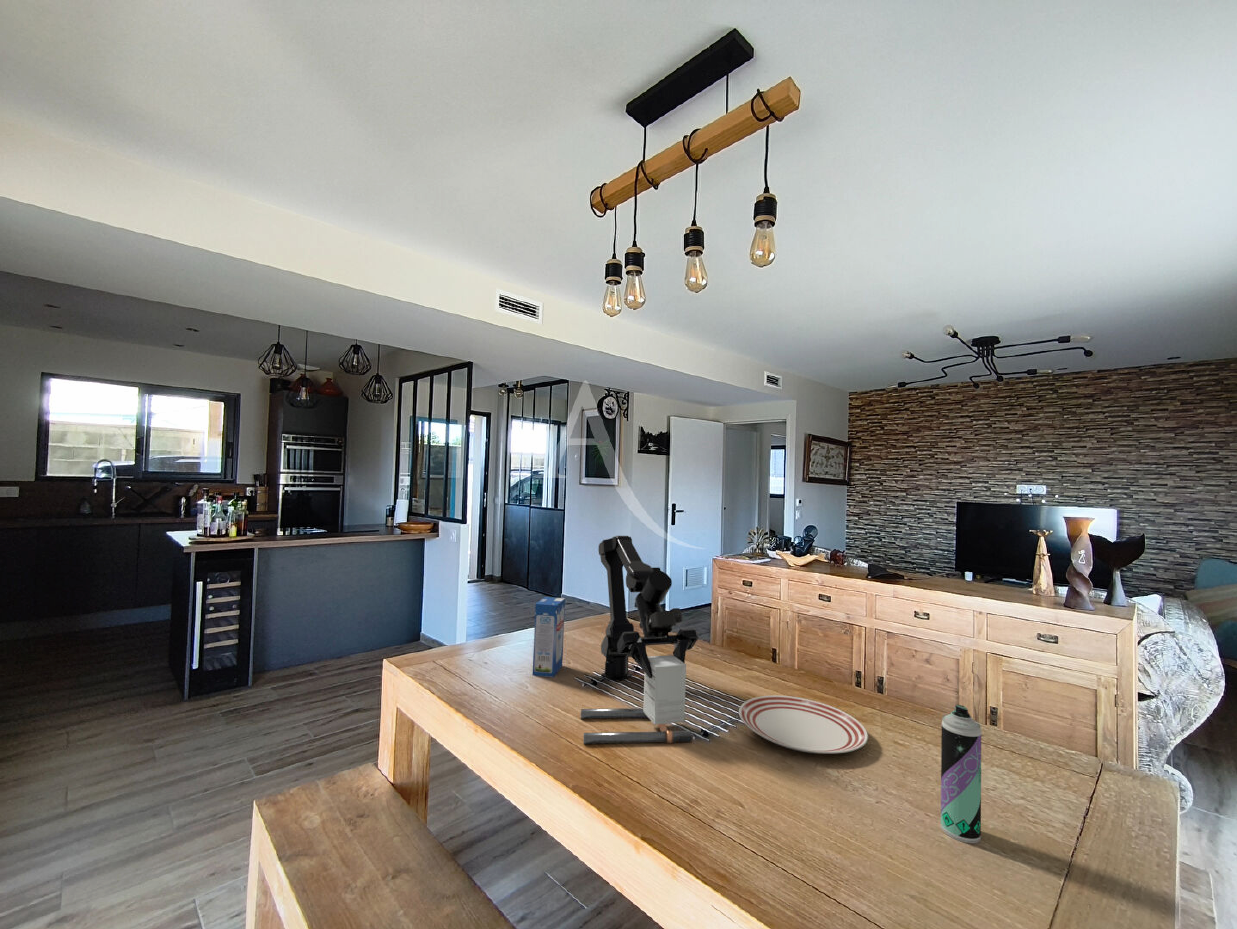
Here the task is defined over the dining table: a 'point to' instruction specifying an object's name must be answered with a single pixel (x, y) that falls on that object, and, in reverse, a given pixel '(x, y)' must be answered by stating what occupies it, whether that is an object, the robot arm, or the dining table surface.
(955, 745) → the spray can
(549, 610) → the milk carton
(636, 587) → the robot arm
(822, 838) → the dining table surface
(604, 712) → the pipe track
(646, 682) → the supplement box
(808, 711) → the dinner plate
